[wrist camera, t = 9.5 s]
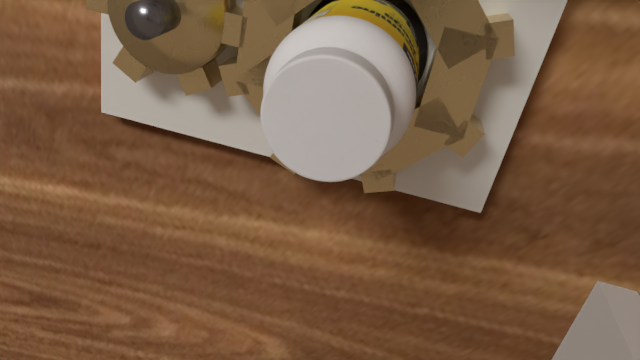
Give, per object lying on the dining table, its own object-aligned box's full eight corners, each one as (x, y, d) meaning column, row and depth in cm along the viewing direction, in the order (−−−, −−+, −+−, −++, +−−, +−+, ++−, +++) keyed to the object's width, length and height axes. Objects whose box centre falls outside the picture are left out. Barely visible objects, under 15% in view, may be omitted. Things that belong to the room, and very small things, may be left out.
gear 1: (107, -94, 27) (53, -97, 23) (268, -57, 26) (240, -53, 22) (106, 61, 31) (60, 81, 27) (246, 97, 30) (219, 123, 26)
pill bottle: (443, 65, 27) (452, 145, 17) (350, 129, 30) (312, 230, 20) (372, -36, 26) (339, -9, 16) (280, 41, 28) (204, 104, 18)
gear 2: (253, -129, 25) (239, -133, 23) (549, -63, 24) (559, -61, 22) (221, 138, 32) (209, 151, 30) (451, 199, 31) (453, 217, 29)
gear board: (113, -168, 26) (100, -171, 25) (585, -62, 25) (592, -61, 24) (111, 106, 34) (101, 112, 32) (478, 203, 32) (480, 213, 31)
